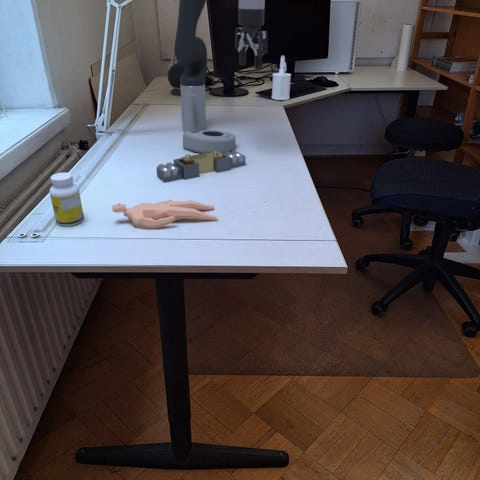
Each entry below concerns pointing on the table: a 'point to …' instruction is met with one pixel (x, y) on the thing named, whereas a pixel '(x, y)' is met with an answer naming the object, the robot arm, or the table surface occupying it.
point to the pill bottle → (66, 200)
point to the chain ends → (192, 170)
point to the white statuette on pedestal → (281, 83)
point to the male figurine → (163, 213)
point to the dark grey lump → (175, 78)
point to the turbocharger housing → (209, 141)
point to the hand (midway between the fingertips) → (250, 66)
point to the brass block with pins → (203, 161)
